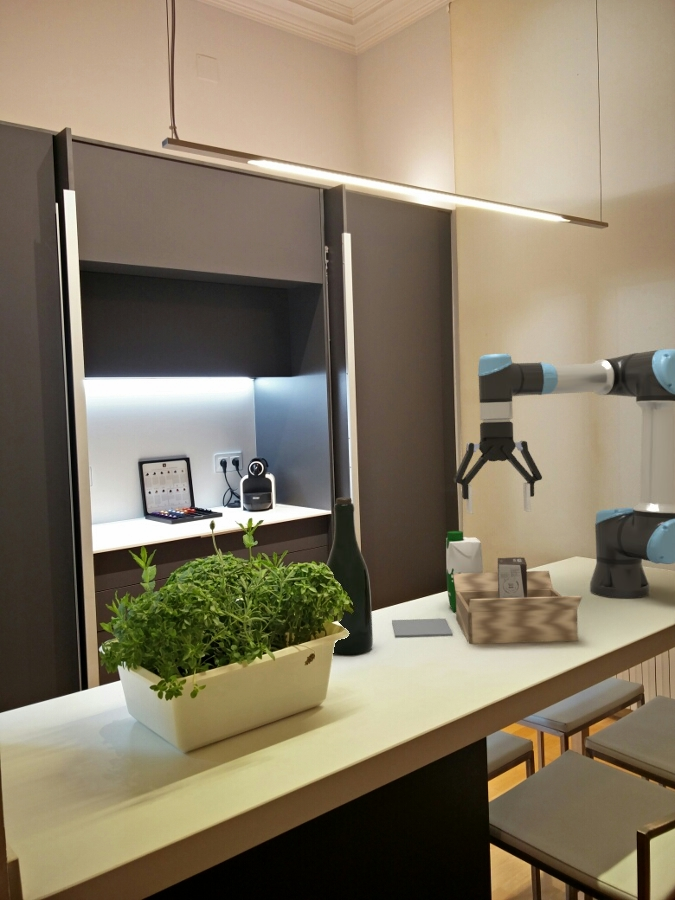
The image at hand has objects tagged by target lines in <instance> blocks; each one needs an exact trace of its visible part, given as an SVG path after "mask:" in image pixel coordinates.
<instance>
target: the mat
mask: <svg viewBox="0 0 675 900" xmlns="http://www.w3.org/2000/svg"><path fill="white" fill-rule="evenodd" d="M391 622H392V628H393V634H394V638H420V637H423V638H424V637H453V636H454V634H453V632H452V629H451V627H450V625H449V622H448V621H447V619H446V618H421V619H420V618H419V619H418V618H417V619H413V618H411V619H392V620H391Z"/></svg>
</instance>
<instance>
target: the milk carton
mask: <svg viewBox="0 0 675 900" xmlns="http://www.w3.org/2000/svg"><path fill="white" fill-rule="evenodd" d="M446 534H447V536H446V538H445V539H446V543H445V544H446V546H445V547H446V548H445V550H446V553H445V554H446V555H445V557H446V560H445V561H446V563H445V564H446V565H445V566H446V588H447V589H446V590H447V596H448V602H449V607H450V608H451V611H452V613H453V612H456V591H455V584H454V577H453V574H461V573H484V568H483V564H484V563H483V550H482V541H480V539H478V538H477V537H466V536H464V531H462V530H451V531H447V532H446Z"/></svg>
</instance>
